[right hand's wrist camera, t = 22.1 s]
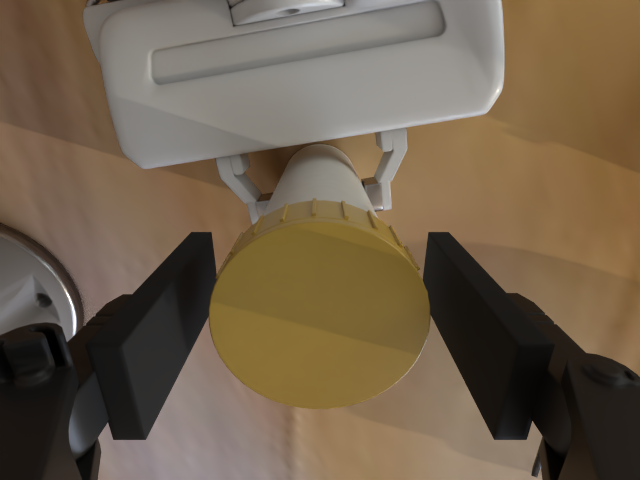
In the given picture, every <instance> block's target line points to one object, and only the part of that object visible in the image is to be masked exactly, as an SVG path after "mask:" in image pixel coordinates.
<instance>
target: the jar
mask: <svg viewBox="0 0 640 480" xmlns="http://www.w3.org/2000/svg"><path fill="white" fill-rule="evenodd" d="M313 198H316V200H326V201H335V202H341V201H345V203H346V204H349V205H352V206H355V207H358V208H360V209H363V210H365V211H368V210H370V211H371V212H372V214H373V215H374V216H376V217H377V215H376V213H375V211H374V209H373V207H372V205H371V202H370V200H369V198H368V196H367V194H366V192H365V190H364V188H363V186H362V184H361V181H360V179H359V177H358V175H357V173H356V171H355V169H354V167H353V165H352V163H351V161H350V159H349V158H348V157H347V156H346V155H345V154H344V153H343V152H342V151H340V150H339V149H337V148H335V147H333V146H330V145H326V144H314V145H309V146H306V147H304V148H302V149H300V150H299V151H297V152H296V153H295V154H294V155H293V156H292V157H291V159H290V160H289V162H288V164H287V166H286V168H285V170H284V172H283V174H282V176H281V178H280V180H279V182H278V185H277V187H276V189H275V191H274V193H273V195H272V197H271V199H270V201H269V203H268V205H267V207H266V210H265V212H264V214H263V216H265V215H267V214H269V213H271V212H272V211H274V210H277V209H279V208H281V207H284V204H286V203H288V205H290V204H294V203H298V202H304V201H312V200H313ZM377 218H378V217H377Z"/></svg>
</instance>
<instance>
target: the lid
mask: <svg viewBox="0 0 640 480" xmlns="http://www.w3.org/2000/svg"><path fill="white" fill-rule="evenodd" d="M418 270H420V268H419V267H418V265H417V263H416V261H415V260H414V258H413V256H412V254H411V253H410V251H409V249H408V248H407V246H405V247H404V246H403V244H402V243H401V241H400V240H399V238H398V236H397V234H396V232H395V231H394V229H393V227H392V226H390V227H388V226H387V225H386V224H385V223H384V222H382V221H381V220H380V219H378V218H377V217H376V216H374V215H373V214H372V212H371V211H370V210H368V211H365V210H363V209H360V208H358V207H355V206H352V205H349V204H346V203H345V201H341V202H335V201H326V200H316V198H313V200H312V201H304V202H298V203H294V204H290V205H288V203H286V204H284V207H281V208H279V209H277V210H274V211H272V212H271V213H269V214H267V215H265V216H263V215H261V216H260V217H259V219H258V221H257V222H256V223H254V224H253V225H252V226H251V227H250V228H249V229H248V230H247V231H246V232H245V233H243V232H242V233H241V234H240V236H239V237H238V239H237V241H236V243H235V244H234V246H233V248H232V250H231V251H230V253H229V254H228V256H227V258H226V259H225V261H224V263H223V265H222V266H221V268H220V270H219V272H218V273H217V275H216V277H215V278H217V281H216V283H215V285H214V288H213V291H212V294H211V298H210V304H209V326H210V332H211V336H212V339H213V342H214V346H215V348H216V350H217V352H218V354H219V356H220V357H221V359H222V360H223V362H224V363H225V365H226V366H227V368H228V369H229V370H230V371H231V372H232V373H233V374H234V376H235V377H237V378H238V379H239V380H240V381H241V382H242V383H243V384H245V385H246V386H248V387H249V388H250V389H252V390H253V391H255V392H257V393H259V394H260V395H262V396H264V397H266V398H269V399H271V400H273V401H276V402H279V403H282V404H286V405H289V406H294V407H300V408H309V409H331V408H340V407H345V406H350V405H354V404H357V403H360V402H363V401H366V400H368V399H370V398H373V397H375V396H377V395H379V394H381V393H382V392H384V391H386V390H387V389H389V388H390V387H392V386H393V385H394V384H396V383H397V382H398V381H399V380H400V379H401V378H402V377H403V376H405V375H406V374H407V372H408V371H409V370H410V369H411V368H412V366H413V365H414V364H415V362H416V361H417V359H418V357H419V356H420V354H421V352H422V350H423V348H424V345H425V343H426V340H427V336H428V332H429V326H430V303H429V298H428V292H427V290H426V288H425V285H424V282H423V280H422V278H421V277H420V275H419V273H418Z"/></svg>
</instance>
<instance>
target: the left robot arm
mask: <svg viewBox="0 0 640 480" xmlns="http://www.w3.org/2000/svg"><path fill="white" fill-rule="evenodd" d="M100 1H101V0H87V3H86V6H85V8H84V10H83V22H84V26H85V29H86V32H87V35H88V38H89V41H90V44H91V47H92V49H93V52H94V55H95V57H96V59H97V60H98V62H99V63H100V66H101V71H102V77H103V82H104V88H105V93H106V97H107V102H108V106H109V110H110V114H111V118H112V122H113V126H114V129H115V133H116V136H117V140H118V143H119V146H120V148H121V150H122V152H123V154H124V155H125V156H126V157H128V158H129V159H130V160H131V161H132V162H134V163H135V164H136V165H138V166H139V167H140V168H142V169H150V168H156V167H162V166H169V165H175V164H181V163H187V162H194V161H200V160H206V159H212V158H215V160H216V164H217V167H218V171H219V175H220V178H221V179H222V180H223V181H224V183H225V184H226V185H227V186H228V187H229V188H230V189H231V190H232V191H233V192H234V193H235V194H236V195H237V196H238V197H239V198H240V199H241V200H242V201H243V202H244V203H247V207H248V211H249V215H250V219H251V223H252V225H253V224H254V223H256V222H257V221H258V219H259V217H260V216H261V215H263V214H264V212H265V210H266V207H267V205H268V203H269V201H270V199H271V197H272V195H273V193H266V194H262V193H261V192H260V191H259V190H258V188H257V187H256V186H255V185H254V184H253V182H252V181H251V180H250V179H249V178H248V177H247V175H246V174H245V173H244V172H245V171H246V170H247V169H248V168H249V166H250V162H249V158H248V153H250V152H256V151H262V150H268V149H274V148H281V147H287V146H293V145H299V144H306V143H312V142H318V141H324V140H330V139H337V138H343V137H349V136H355V135H362V134H368V133H374V132H375V134H376V143H377V146H378V147H379V148H380V149H381V150H383V151H384V154H383V156H382V158H381V161H380V163H379V165H378V168H377V170H376V172H375V175H374V177H370V178H365V179H361V182H362V186H363V188H364V190H365V192H366V194H367V196H368V198H369V200H370V202H371V205H372V207H373V209H374V211H375V212H376V211H383V210H390V209H391V205H392V204H391V192H390V181H392V180H393V178H394V175H395V173H396V171H397V169H398V167H399V165H400V163H401V161H402V159H403V157H404V155H405V153H406V151H407V133H406V127H411V126H417V125H424V124H430V123H436V122H442V121H449V120H455V119H461V118H467V117H473V116H479V115H484V114H486V113H487V112H488V111H489V110H490V108H491V107H492V106H493V104H494V103H495V101H496V100H497V98H498V97H499V95H500V94H501V91H502V88H503V82H504V25H503V11H502V0H107V1H108V2H109V3H103V4H98V3H99V2H100ZM97 4H98V5H97Z"/></svg>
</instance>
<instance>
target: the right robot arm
mask: <svg viewBox="0 0 640 480" xmlns="http://www.w3.org/2000/svg"><path fill="white" fill-rule="evenodd" d="M216 275H217V274H216V266H215V257H214V249H213V241H212V233H211V232H191V233H190V234H189V235H188V236H187V237H186V238H185V239H184V240H183V242H182V243H181V244H180V245H179V246H178V247H177V248H176V249H175V250H174V251H173V252H172V253H171V254H170V255H169V256H168V257H167V258H166V259H165V261H164V262H163V263H162V264H161V265H160V266H159V267H158V268H157V269H156V270H155V271H154V272H153V273H152V274H151V275H150V276H149V277H148V278H147V280H146V281H145V282H144V283H143V284H142V285H141V286H140V287H139V288H138V289H137V290H136V291H135V292H134V293H133V294H123V295H121V296H119V297H118V298H116V299H114V300H112V301H111V302H109V303H107V304H106V305H105V306H104V307H103V308H102V309H101V310H100V311H99V312H98V313H97V314H96V316H95V317H92V318H91V319H90V320H89V321H88V322H87V323H86V326H83V321H84V312H83V306H82V302H81V298H80V295H79V292H78V290H77V288H76V286H75V284H74V282H73V280H72V279H71V277H70V275H69V274H68V273H67V271H66V270H65V268H64V267H63V266H62V265H61V264H60V263H59V261H58V260H57V259H56V258H55V257H54V256H53V255H52V254H51V253H50V252H48V251H47V250H46V249H45V248H44V247H42V246H41V245H40V244H38V243H37V242H36V241H34V240H33V239H31V238H29V237H28V236H26V235H24V234H23V233H21V232H19V231H17V230H15V229H13V228H10V227H8V226H6V225H3V224H0V480H98V472H99V465H100V457H101V448H100V443H99V440H98V436H99V435H100V433H101V432H102V430H103V429H104V427H105V426H106V424H107V422H108V423H109V427H110V430H111V433H112V437H113V440H146V438H147V436H148V434H149V432H150V430H151V428H152V426H153V424H154V422H155V420H156V419H157V417H158V415H159V413H160V411H161V409H162V407H163V405H164V403H165V401H166V399H167V397H168V395H169V393H170V391H171V389H172V387H173V385H174V383H175V381H176V379H177V377H178V375H179V373H180V371H181V369H182V367H183V365H184V363H185V361H186V359H187V357H188V355H189V353H190V352H191V350H192V348H193V346H194V344H195V342H196V340H197V338H198V336H199V334H200V332H201V330H202V328H203V326H204V324H205V322H206V320H207V318H208V316H209V304H210V298H211V294H212V291H213V288H214V285H215V283H216V281H217V278H215V277H216ZM423 282H424V285H425V288H426V290H427V292H428V298H429V303H430V314H431V316H432V318H433V320H434V322H435V324H436V326H437V328H438V330H439V332H440V334H441V336H442V338H443V340H444V342H445V344H446V346H447V348H448V350H449V352H450V353H451V355H452V357H453V359H454V361H455V363H456V365H457V367H458V369H459V371H460V373H461V375H462V377H463V379H464V381H465V383H466V385H467V387H468V389H469V391H470V393H471V395H472V397H473V399H474V401H475V403H476V405H477V407H478V409H479V411H480V413H481V415H482V417H483V419H484V420H485V422H486V424H487V426H488V428H489V430H490V432H491V434H492V436H493V438H494V440H527V437H528V433H529V430H530V427H531V423H532V421H533V422H534V424H535V425H536V427H537V428H538V430H539V431H540V433H541V434H542V436H543V437H542V440H541V443H540V446H539V450H538V453H537V456H536V459H535V462H534V465H533V469H532V476H535V477H537V476H538V473H539V470H540V468H541V471H542V479H543V480H640V377H639V376H638V375H637V374H636V373H634V372H633V371H632V370H630V369H629V368H627V367H626V366H624V365H622V364H620V363H618V362H616V361H614V360H612V359H609V358H606V357H603V356H600V355H597V354H589V353H586V352H584V351H583V350H582V349H581V348H580V347H579V346H578V345H577V344H576V343H575V342H574V341H573V340H572V339H571V338H570V337H569V336H568V335H567V334H566V333H565V332H564V331H563V330H562V329H561V328H560V327H559V326H558V325H556V324H554V322H553V321H552V320H551V319H550V318H549V317H548V316H547V315H545V313H544V312H543V311H542V310H541V309H540V308H539V307H538V306H537V305H536V304H535V303H534V302H532V301H530V300H528V299H527V298H525V297H523V296H521V295H520V294H518V293H506V292H505V291H504V290H503V289H502V288H501V287H500V286H499V285H498V284H497V283H496V282H495V281H494V280H493V278H492V277H491V276H490V275H489V274H488V273H487V272H486V271H485V270H484V269H483V268H482V267H481V266H480V265H479V264H478V263H477V262H476V261H475V259H474V258H473V257H472V256H471V255H470V254H469V253H468V252H467V251H466V250H465V249H464V248H463V247H462V246H461V245H460V244H459V243H458V242H457V240H456V239H455V238H454V237H453V236H452V235H451V234H450V233H449V232H429V233H428V241H427V249H426V257H425V266H424V274H423Z"/></svg>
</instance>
